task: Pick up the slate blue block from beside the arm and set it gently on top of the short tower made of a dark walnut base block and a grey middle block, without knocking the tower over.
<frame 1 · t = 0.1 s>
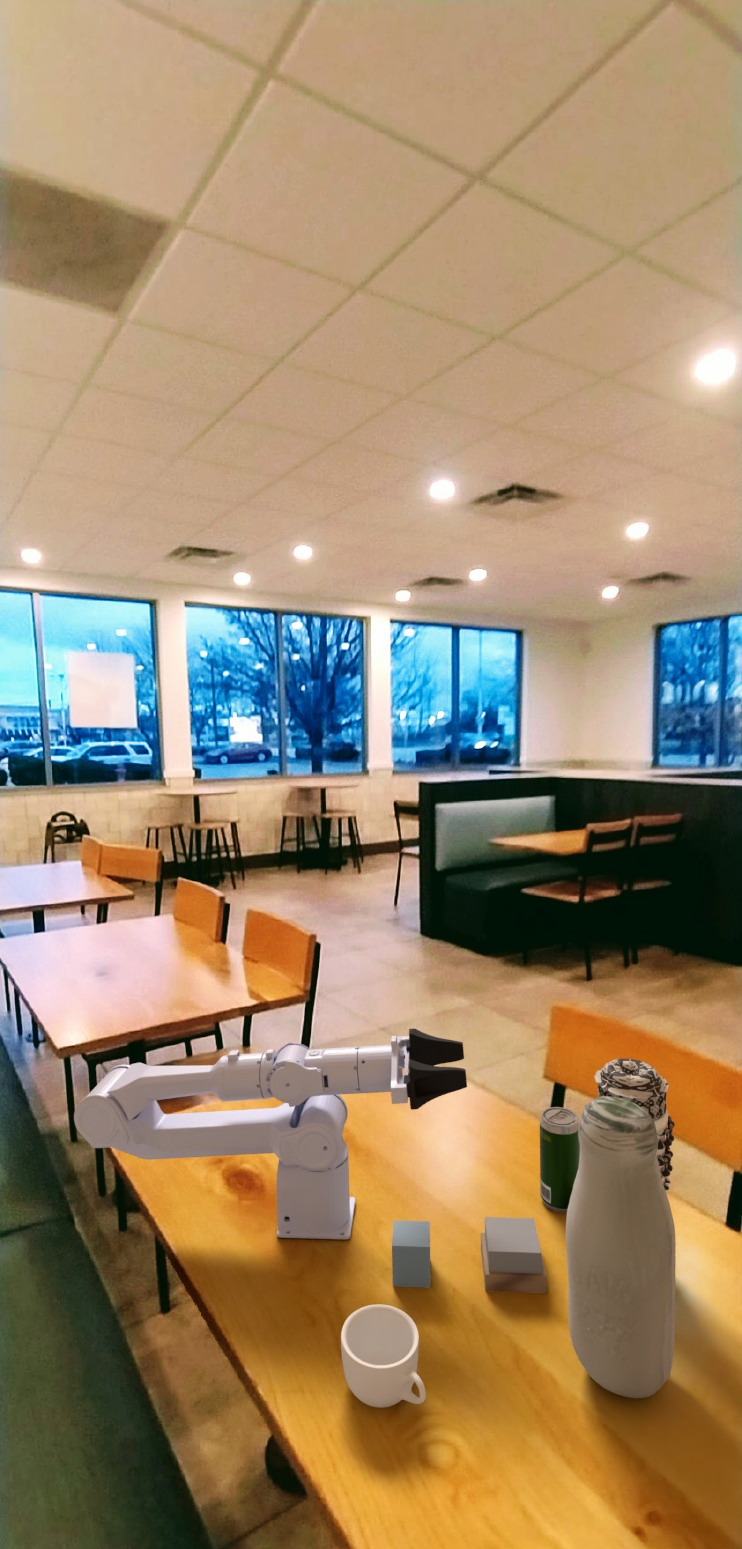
hand: (464, 1063, 95), 22 cm above the table, tool horizontal, fingers open, 7 cm apart
slate blue block: (412, 1273, 88), on the table
teacup: (388, 1395, 72), on the table
decorative candle: (632, 1275, 87), on the table
grey middle block: (512, 1254, 87), point 2 cm above the table
walnut base block: (512, 1273, 88), on the table
glass bottle: (620, 1377, 73), on the table
beer can: (560, 1202, 100), on the table
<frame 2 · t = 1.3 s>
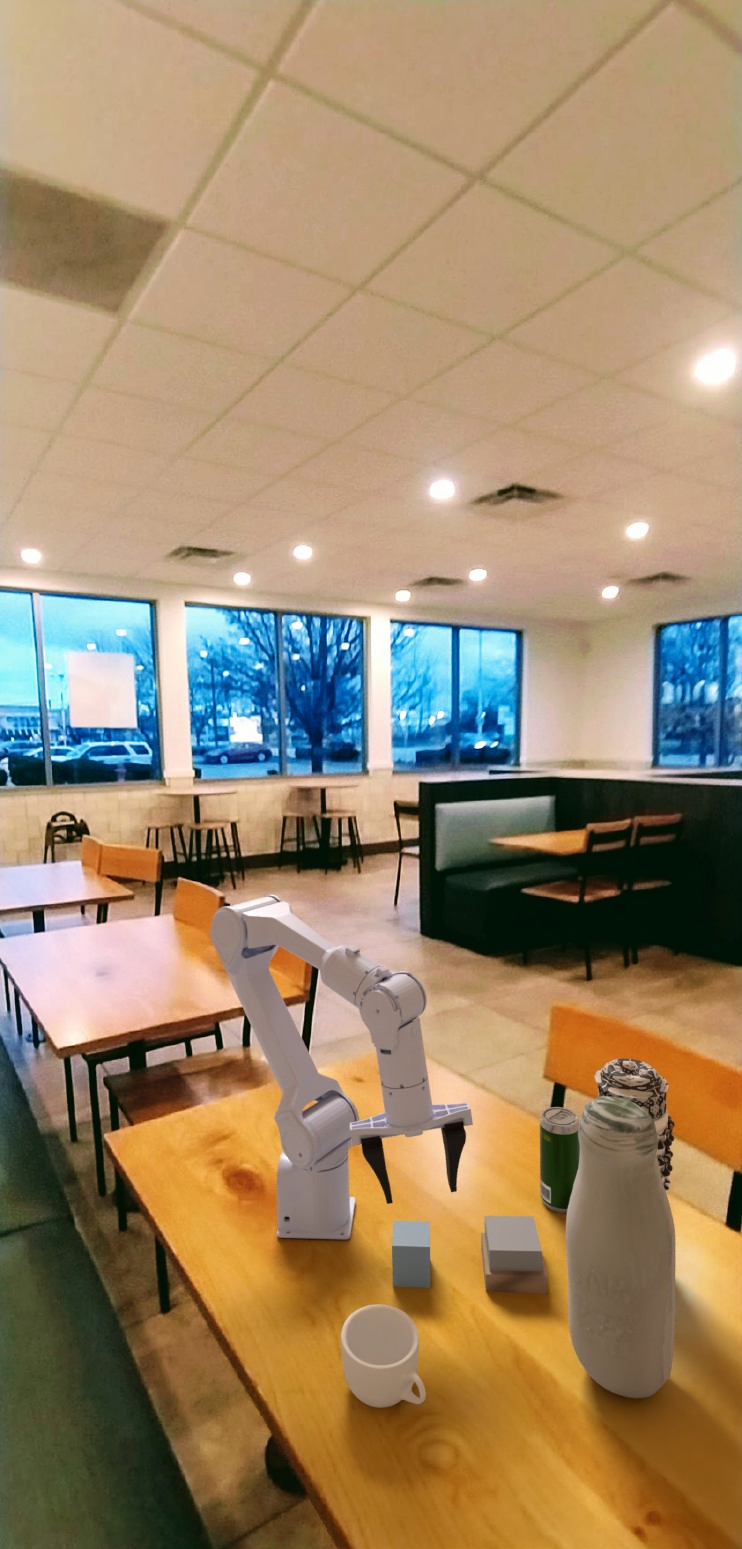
hand: (421, 1193, 87), 10 cm above the table, tool pointing down, fingers open, 7 cm apart
nothing on the table moved.
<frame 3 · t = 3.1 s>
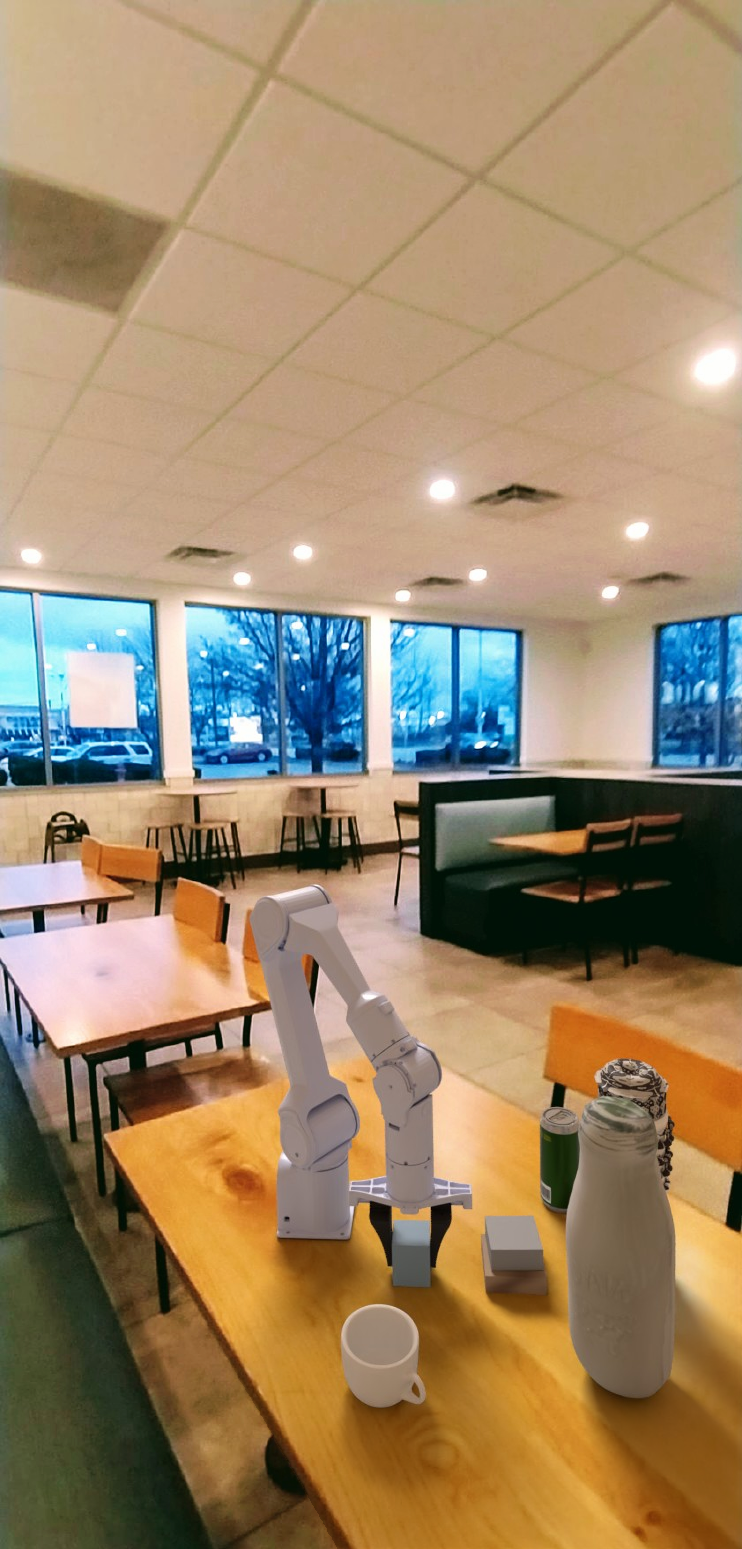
hand: (411, 1261, 88), 1 cm above the table, tool pointing down, fingers closed on slate blue block, 4 cm apart
slate blue block: (412, 1272, 88), on the table, touching gripper
everything else where it was.
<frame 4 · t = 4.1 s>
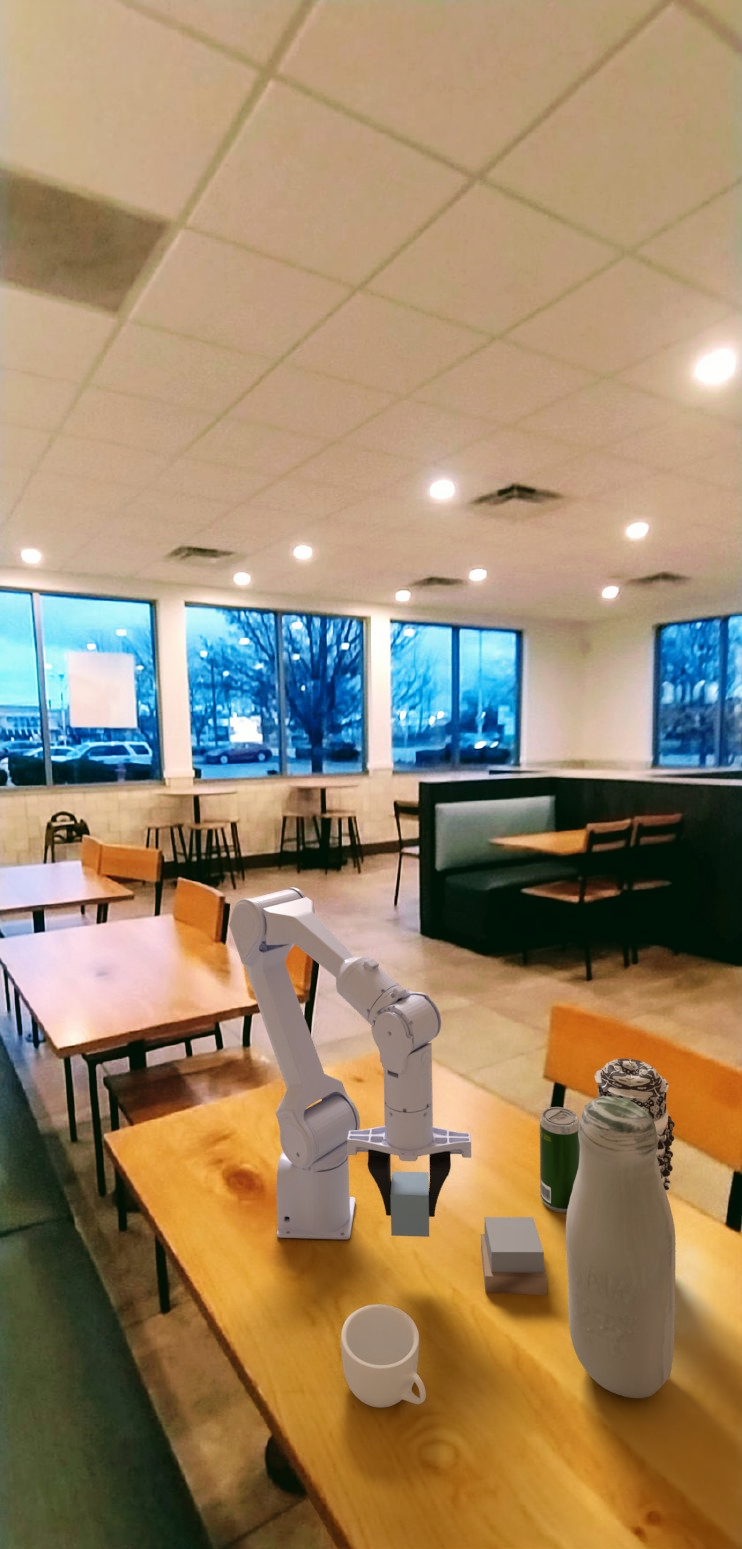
hand: (410, 1210, 87), 8 cm above the table, tool pointing down, fingers closed on slate blue block, 4 cm apart
slate blue block: (410, 1223, 87), point 6 cm above the table, touching gripper
grey middle block: (513, 1253, 87), point 2 cm above the table, touching walnut base block
walnut base block: (512, 1275, 87), on the table, touching grey middle block
everything else where it was.
when the fingers open (7 cm above the table, at t = 5.9 s): slate blue block drops 1 cm, point 4 cm above the table.
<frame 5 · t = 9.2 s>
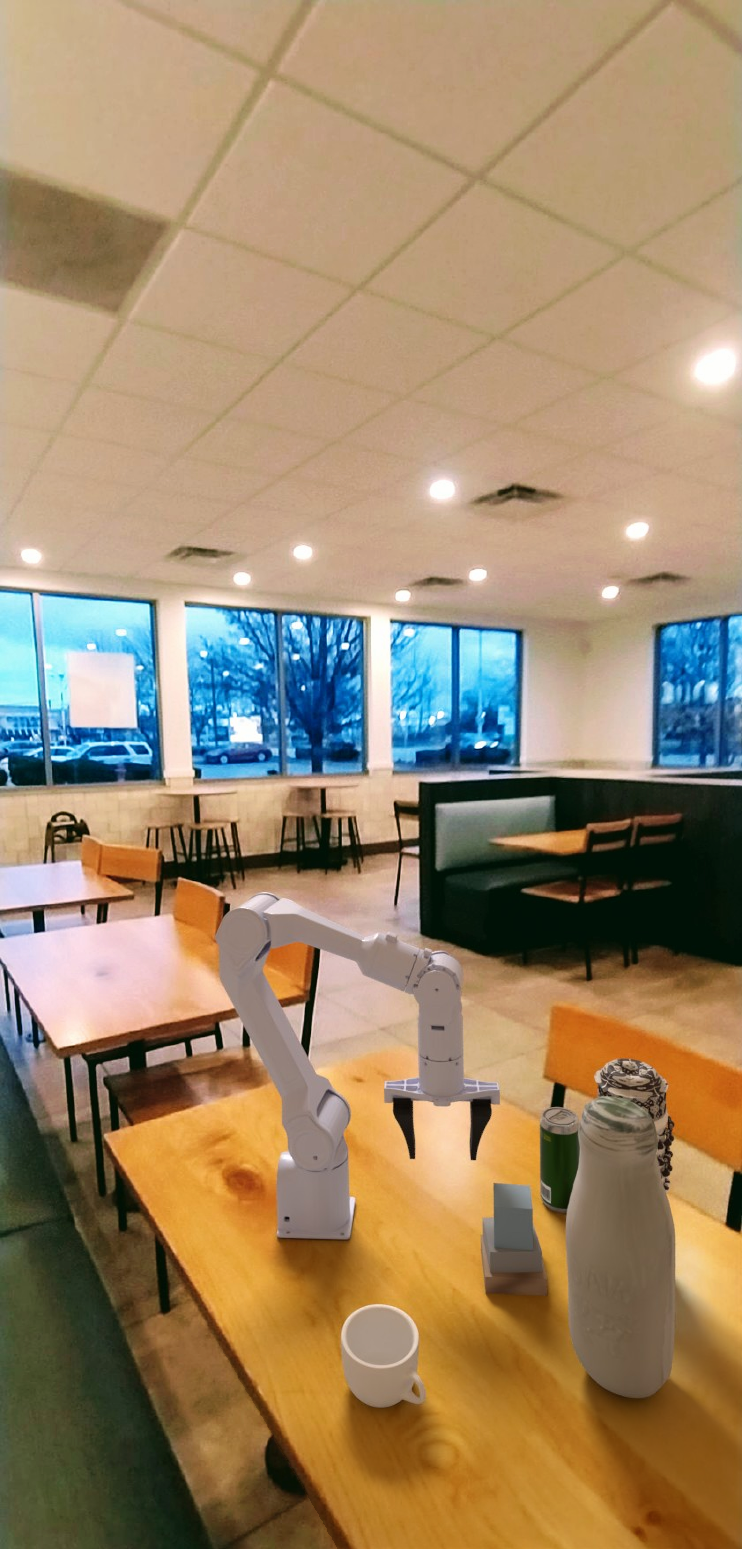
hand: (442, 1155, 94), 10 cm above the table, tool pointing down, fingers open, 7 cm apart
slate blue block: (512, 1236, 87), point 4 cm above the table
everything else where it was.
at the end: slate blue block 0.4 cm off-centre on the grey middle block, point 2.5 cm above the grey middle block's base; grey middle block 0.3 cm off-centre on the walnut base block, point 2.5 cm above the walnut base block's base; the gripper is holding nothing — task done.
